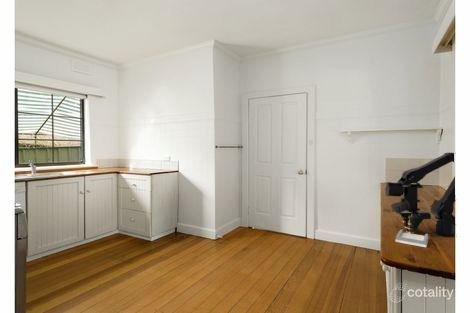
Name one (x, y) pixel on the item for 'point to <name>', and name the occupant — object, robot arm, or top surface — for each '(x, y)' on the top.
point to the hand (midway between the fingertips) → (410, 229)
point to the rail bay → (412, 239)
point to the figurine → (408, 224)
